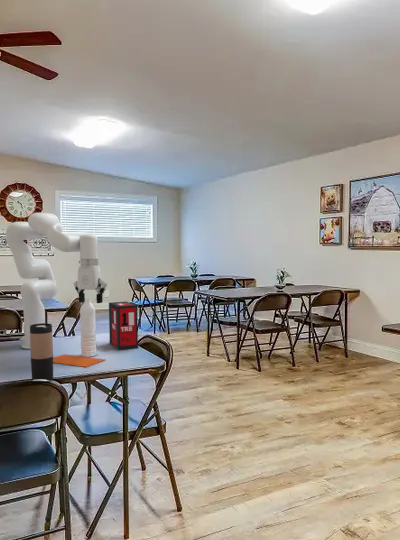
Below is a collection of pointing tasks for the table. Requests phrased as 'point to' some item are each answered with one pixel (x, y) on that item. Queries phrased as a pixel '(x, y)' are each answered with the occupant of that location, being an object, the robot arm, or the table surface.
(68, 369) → the table surface
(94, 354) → the water bottle
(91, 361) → the cloth
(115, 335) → the cleaning product box
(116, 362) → the table surface
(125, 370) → the table surface
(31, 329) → the travel mug
